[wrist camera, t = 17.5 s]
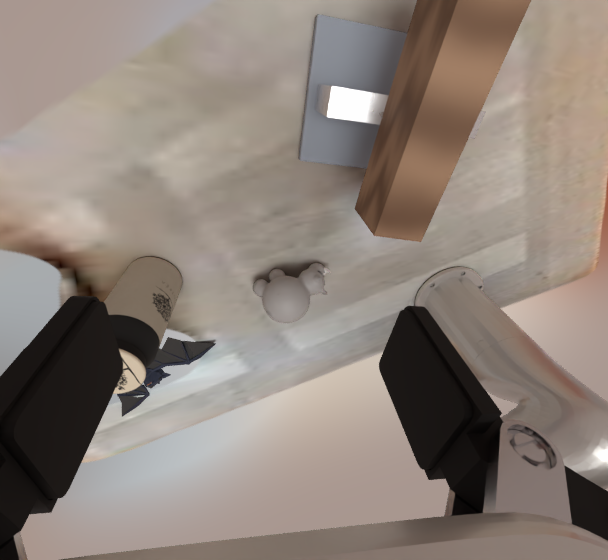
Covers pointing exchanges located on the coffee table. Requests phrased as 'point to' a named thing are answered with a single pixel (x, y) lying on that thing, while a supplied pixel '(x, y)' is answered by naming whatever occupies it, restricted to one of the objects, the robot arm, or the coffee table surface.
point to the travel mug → (141, 315)
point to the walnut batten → (433, 109)
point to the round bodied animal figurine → (290, 292)
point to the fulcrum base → (346, 74)
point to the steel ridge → (359, 105)
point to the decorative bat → (167, 356)
